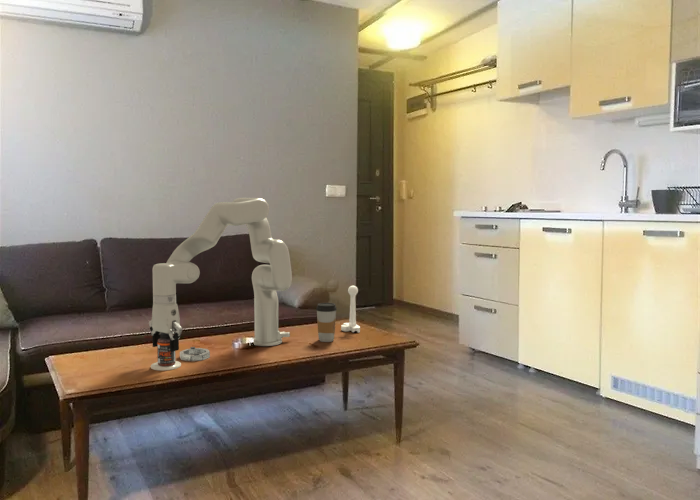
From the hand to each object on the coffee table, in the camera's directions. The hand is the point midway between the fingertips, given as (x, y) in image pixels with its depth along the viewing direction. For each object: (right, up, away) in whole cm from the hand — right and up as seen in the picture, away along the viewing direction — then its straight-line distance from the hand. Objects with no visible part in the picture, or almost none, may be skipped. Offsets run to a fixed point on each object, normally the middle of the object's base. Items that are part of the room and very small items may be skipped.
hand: (165, 348), depth 201 cm
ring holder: (+7, -5, +12) cm, 15 cm away
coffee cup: (+54, -3, +39) cm, 67 cm away
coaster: (0, -6, +1) cm, 6 cm away
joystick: (+63, -2, +58) cm, 86 cm away
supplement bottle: (0, -6, +1) cm, 6 cm away
